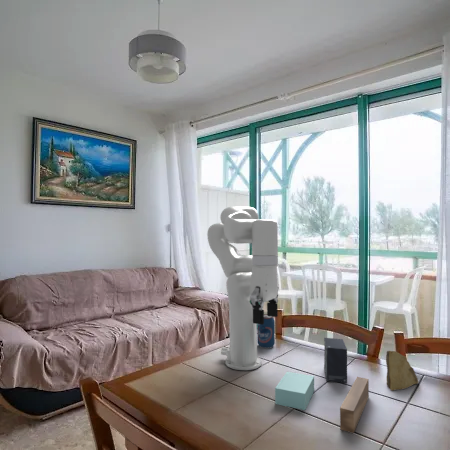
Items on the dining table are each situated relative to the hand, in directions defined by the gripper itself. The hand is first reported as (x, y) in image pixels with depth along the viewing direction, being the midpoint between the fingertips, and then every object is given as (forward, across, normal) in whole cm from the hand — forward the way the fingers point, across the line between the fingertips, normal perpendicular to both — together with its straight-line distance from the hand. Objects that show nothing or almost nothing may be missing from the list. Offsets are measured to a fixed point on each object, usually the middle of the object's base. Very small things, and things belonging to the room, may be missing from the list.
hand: (265, 319), depth 102 cm
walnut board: (+20, 0, +25) cm, 32 cm away
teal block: (+21, 0, +9) cm, 22 cm away
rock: (+21, -23, +34) cm, 46 cm away
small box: (+20, -20, +15) cm, 32 cm away
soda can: (+20, -35, -16) cm, 44 cm away
